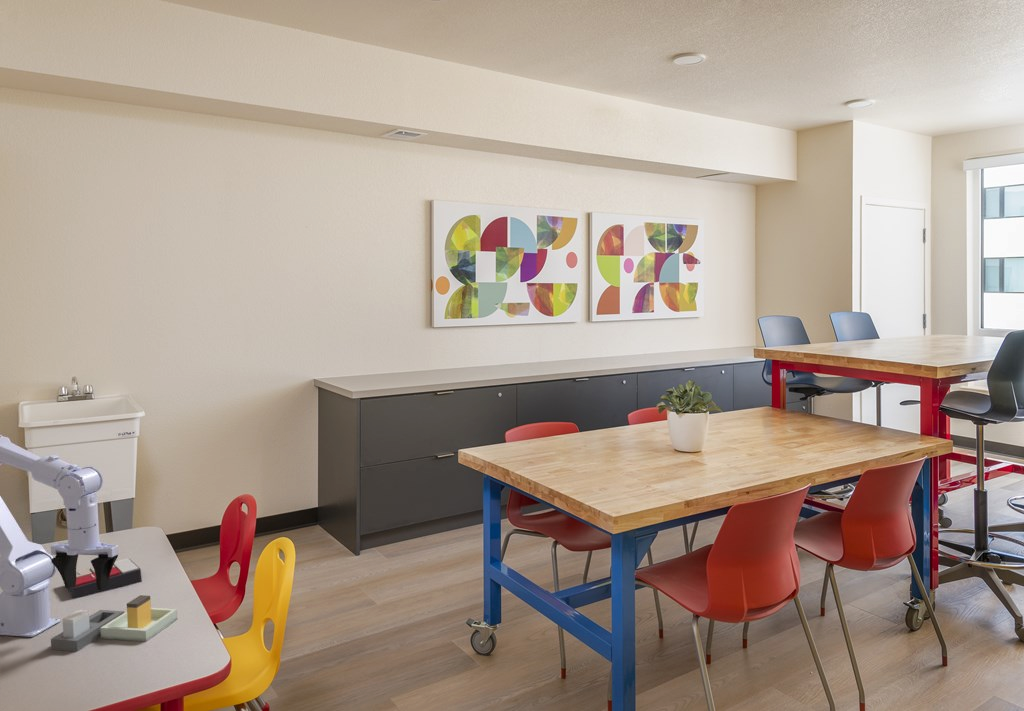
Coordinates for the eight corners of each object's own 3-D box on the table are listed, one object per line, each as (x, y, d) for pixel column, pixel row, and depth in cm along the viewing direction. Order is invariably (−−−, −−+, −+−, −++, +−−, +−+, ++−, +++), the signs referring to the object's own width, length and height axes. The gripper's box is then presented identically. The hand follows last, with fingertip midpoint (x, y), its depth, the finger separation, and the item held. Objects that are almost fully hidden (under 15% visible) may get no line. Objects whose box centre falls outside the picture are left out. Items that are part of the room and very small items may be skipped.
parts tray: (100, 638, 150) (100, 627, 150) (134, 616, 160) (134, 606, 160) (146, 641, 148) (145, 630, 148) (177, 619, 159) (177, 609, 158)
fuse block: (51, 649, 145) (50, 639, 145) (100, 619, 159) (100, 609, 159) (77, 651, 144) (76, 640, 144) (124, 620, 158) (124, 611, 158)
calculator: (63, 572, 178) (128, 555, 188) (65, 589, 179) (130, 570, 189) (73, 585, 170) (140, 566, 180) (75, 602, 171) (142, 582, 181)
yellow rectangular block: (128, 630, 152) (126, 603, 152) (141, 621, 156) (140, 595, 156) (138, 631, 152) (136, 604, 151) (151, 622, 156) (150, 595, 156)
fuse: (64, 647, 146) (62, 619, 146) (80, 637, 150) (78, 609, 150) (74, 647, 146) (72, 619, 145) (90, 637, 150) (88, 610, 150)
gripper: (37, 530, 148) (41, 593, 149) (100, 532, 146) (103, 596, 147) (63, 520, 155) (67, 580, 156) (123, 522, 153) (127, 583, 154)
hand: (86, 587), depth 152 cm, fingers open, 7 cm apart
